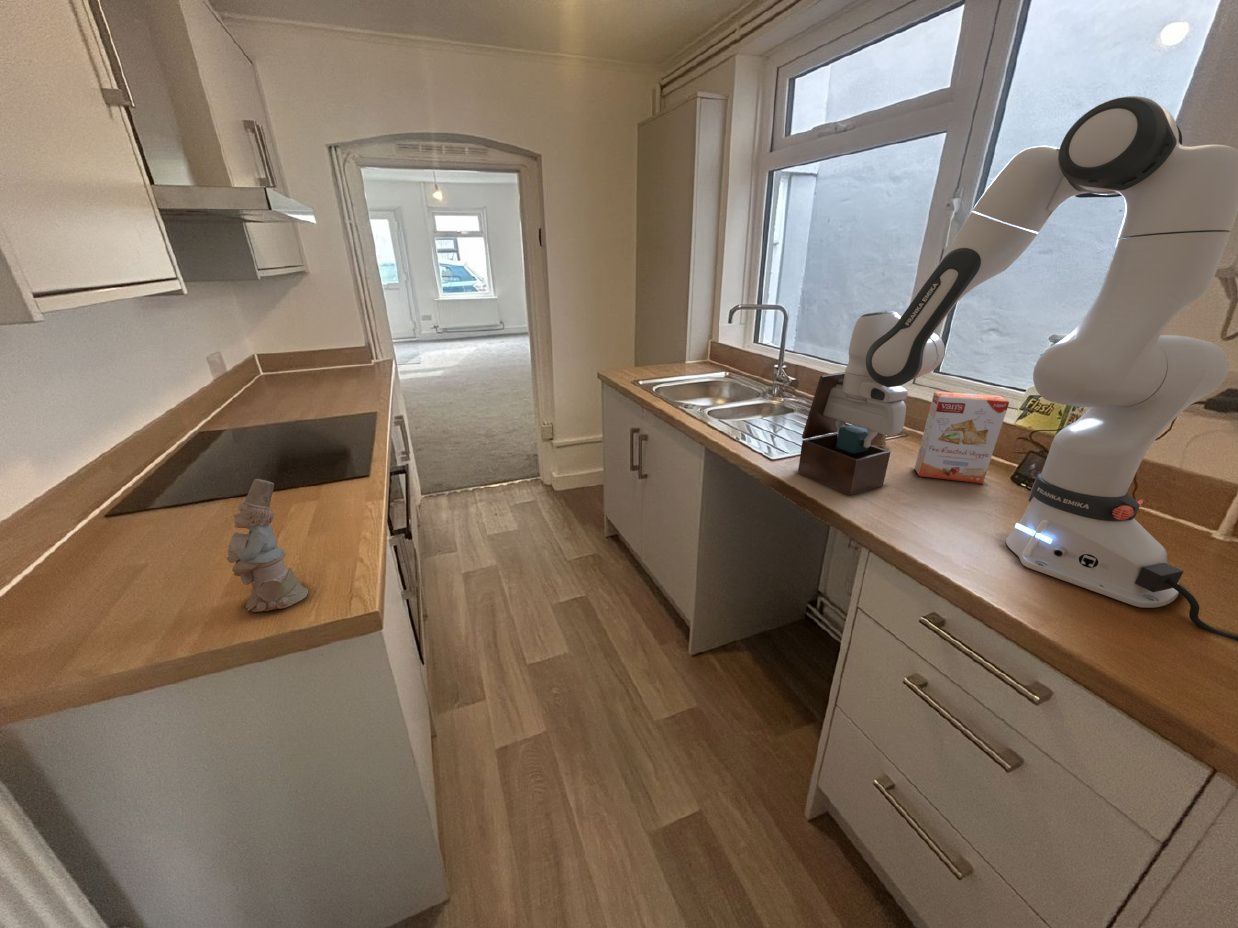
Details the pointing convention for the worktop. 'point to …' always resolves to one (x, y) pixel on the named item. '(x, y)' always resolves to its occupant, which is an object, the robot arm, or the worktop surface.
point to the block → (851, 439)
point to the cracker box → (960, 436)
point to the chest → (843, 465)
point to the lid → (821, 408)
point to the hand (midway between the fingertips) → (853, 442)
